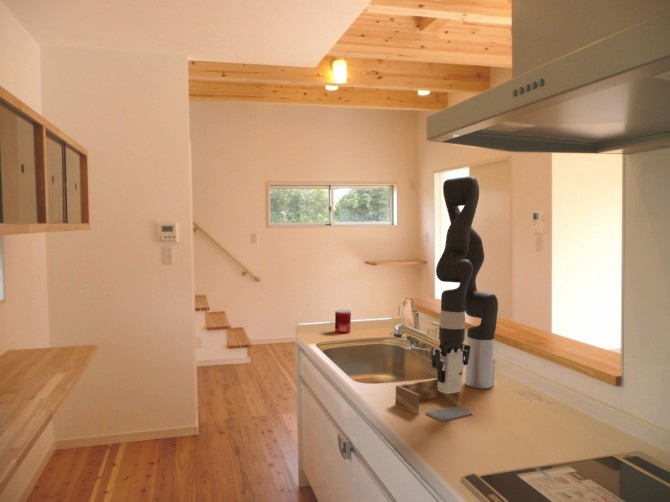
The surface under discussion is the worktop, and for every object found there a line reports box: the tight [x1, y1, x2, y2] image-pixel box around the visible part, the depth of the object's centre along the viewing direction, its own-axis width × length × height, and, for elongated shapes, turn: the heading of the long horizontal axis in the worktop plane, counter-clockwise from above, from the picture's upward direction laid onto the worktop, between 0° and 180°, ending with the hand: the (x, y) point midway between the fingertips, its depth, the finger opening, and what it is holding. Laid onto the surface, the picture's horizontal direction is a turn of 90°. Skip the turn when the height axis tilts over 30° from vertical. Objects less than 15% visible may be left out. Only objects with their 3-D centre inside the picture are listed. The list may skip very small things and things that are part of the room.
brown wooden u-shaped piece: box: [394, 377, 462, 416], centre depth 169 cm, size 18×10×6 cm, turn 122°
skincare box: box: [438, 351, 463, 394], centre depth 160 cm, size 6×4×12 cm
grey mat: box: [425, 405, 473, 423], centre depth 161 cm, size 12×7×1 cm, turn 122°
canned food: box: [334, 309, 352, 335], centre depth 272 cm, size 8×8×11 cm
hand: (449, 380), depth 160 cm, fingers closed on skincare box, 6 cm apart
